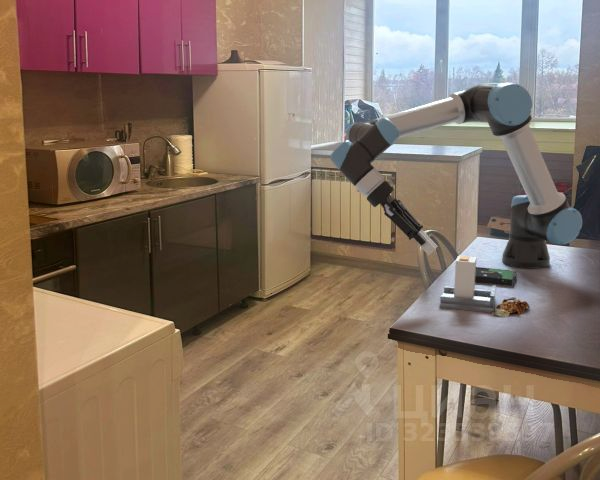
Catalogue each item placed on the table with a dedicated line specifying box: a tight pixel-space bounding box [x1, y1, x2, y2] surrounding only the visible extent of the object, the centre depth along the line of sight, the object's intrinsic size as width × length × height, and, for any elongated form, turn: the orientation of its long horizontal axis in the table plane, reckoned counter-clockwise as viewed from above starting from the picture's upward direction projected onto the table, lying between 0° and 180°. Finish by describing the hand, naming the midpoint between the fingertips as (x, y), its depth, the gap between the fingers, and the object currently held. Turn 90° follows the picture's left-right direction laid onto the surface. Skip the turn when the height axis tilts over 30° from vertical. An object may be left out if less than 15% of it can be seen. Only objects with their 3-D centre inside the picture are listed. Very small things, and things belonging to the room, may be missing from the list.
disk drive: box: [475, 266, 517, 287], centre depth 202 cm, size 10×3×15 cm
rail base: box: [439, 284, 497, 314], centre depth 180 cm, size 14×12×4 cm
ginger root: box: [491, 296, 531, 318], centre depth 174 cm, size 7×12×4 cm, turn 138°
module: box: [453, 254, 477, 298], centre depth 179 cm, size 5×6×11 cm
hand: (433, 250), depth 180 cm, fingers open, 2 cm apart
